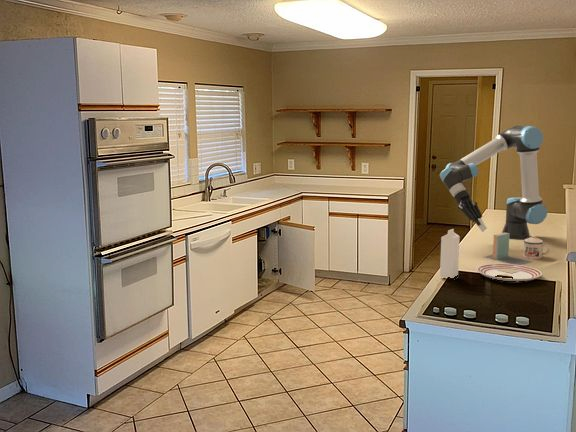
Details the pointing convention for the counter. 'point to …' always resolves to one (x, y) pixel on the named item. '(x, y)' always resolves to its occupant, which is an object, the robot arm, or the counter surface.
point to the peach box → (501, 245)
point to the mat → (510, 260)
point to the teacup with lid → (533, 248)
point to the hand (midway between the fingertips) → (484, 230)
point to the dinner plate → (521, 275)
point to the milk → (449, 254)
